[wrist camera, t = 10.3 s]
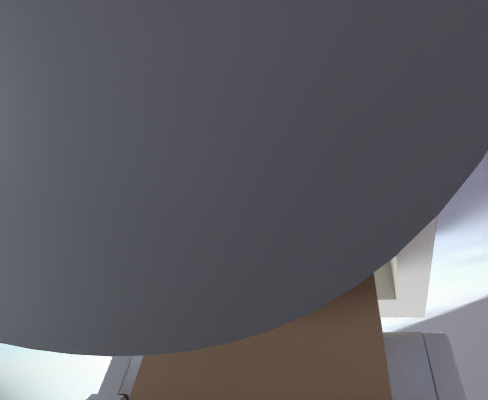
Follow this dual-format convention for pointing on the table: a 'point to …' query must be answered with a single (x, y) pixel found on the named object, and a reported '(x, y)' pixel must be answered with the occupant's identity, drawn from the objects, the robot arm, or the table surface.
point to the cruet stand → (225, 162)
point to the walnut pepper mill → (283, 360)
